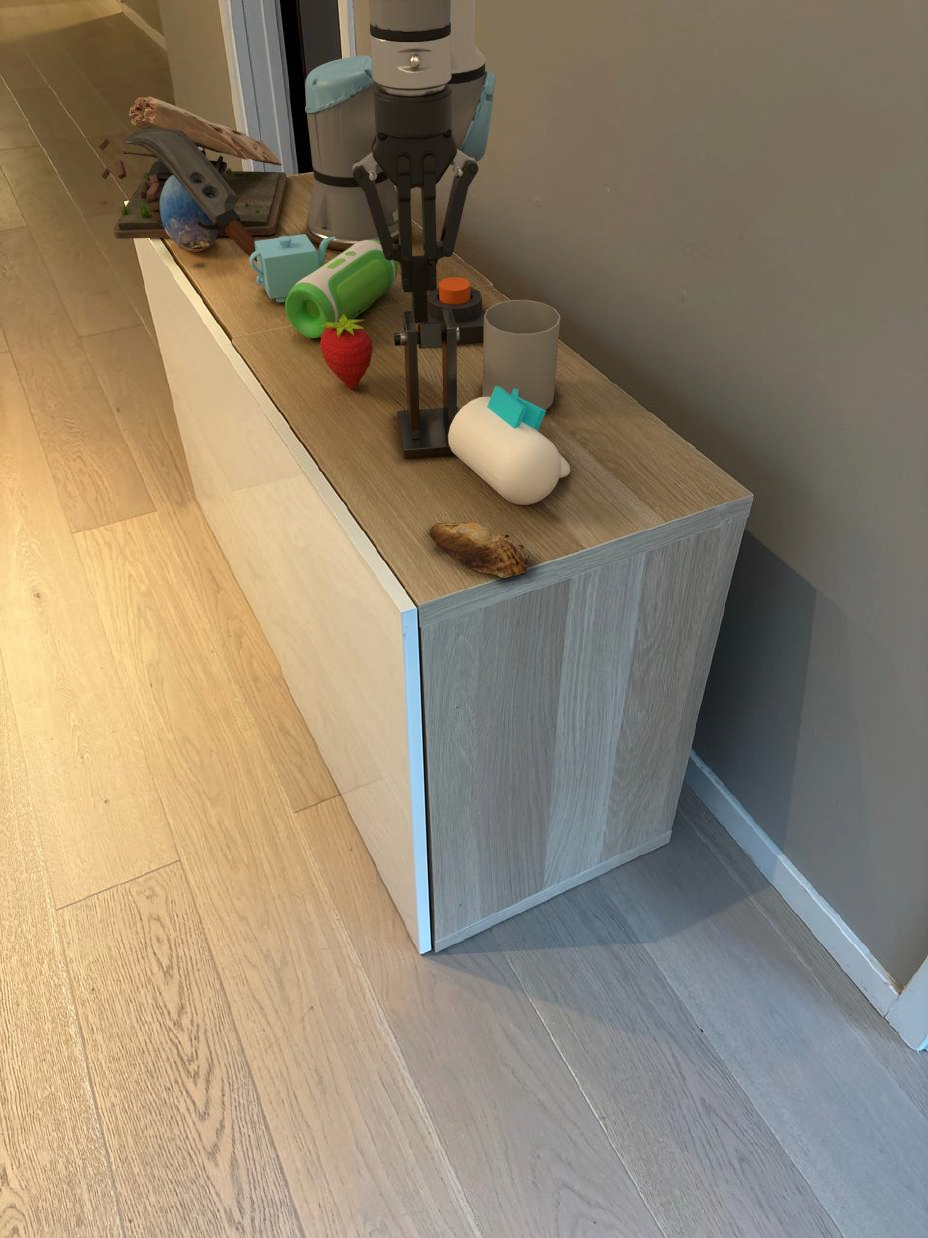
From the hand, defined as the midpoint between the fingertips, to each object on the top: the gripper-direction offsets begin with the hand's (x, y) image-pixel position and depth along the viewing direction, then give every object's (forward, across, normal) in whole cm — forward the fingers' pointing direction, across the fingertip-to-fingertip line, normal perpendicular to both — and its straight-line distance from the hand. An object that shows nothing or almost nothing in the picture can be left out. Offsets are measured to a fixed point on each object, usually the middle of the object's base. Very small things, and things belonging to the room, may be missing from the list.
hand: (419, 317), depth 105 cm
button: (+5, +6, +15) cm, 17 cm away
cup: (+9, +11, -4) cm, 15 cm away
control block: (+9, +6, +15) cm, 19 cm away
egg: (+9, -28, +38) cm, 49 cm away
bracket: (+9, 0, -11) cm, 14 cm away
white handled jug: (+9, +8, -20) cm, 24 cm away
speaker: (+9, -8, +20) cm, 24 cm away
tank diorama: (+9, -31, +62) cm, 70 cm away
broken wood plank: (+3, -27, +65) cm, 71 cm away
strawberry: (+9, -8, +1) cm, 12 cm away
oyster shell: (+7, 0, -27) cm, 28 cm away
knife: (+9, -18, +30) cm, 36 cm away
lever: (0, 0, -6) cm, 6 cm away
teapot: (+9, -14, +28) cm, 32 cm away
